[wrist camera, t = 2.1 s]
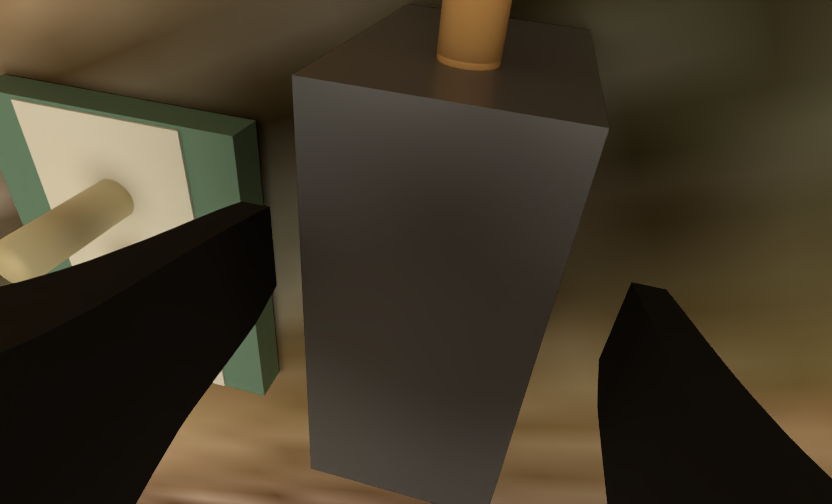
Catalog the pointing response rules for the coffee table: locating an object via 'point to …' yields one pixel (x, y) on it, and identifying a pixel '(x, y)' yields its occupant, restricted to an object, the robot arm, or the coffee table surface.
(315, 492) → the coffee table surface
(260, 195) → the green and cream box
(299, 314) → the coffee table surface
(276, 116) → the coffee table surface
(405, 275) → the block
